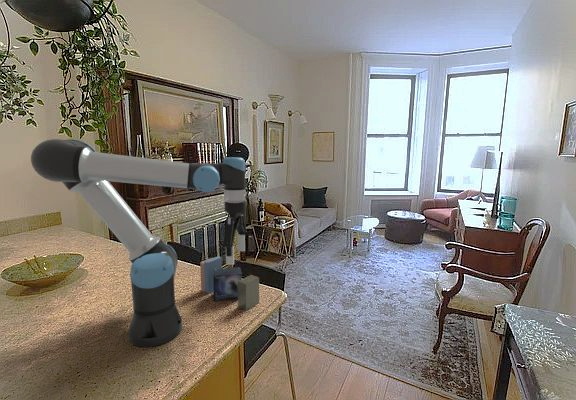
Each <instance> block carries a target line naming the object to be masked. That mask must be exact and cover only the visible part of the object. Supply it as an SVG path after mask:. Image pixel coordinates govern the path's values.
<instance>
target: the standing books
mask: <svg viewBox="0 0 576 400" xmlns="http://www.w3.org/2000/svg"><path fill="white" fill-rule="evenodd" d="M222 260H223V259H222V257H221V256H216V257H211V258H208V259H206V260H203V261H201V262H199V264H200V265H199V266H200V269H199V270H200V291H201V292H203V293H205V294H208V295H210V294H212V293H213V292H214V288H213V269H222V268H223V262H222Z"/></svg>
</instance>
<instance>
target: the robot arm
mask: <svg viewBox="0 0 576 400" xmlns="http://www.w3.org/2000/svg"><path fill="white" fill-rule="evenodd" d="M30 161H31V167H32V168H33V169H34V171H35V172H36V173H37V174H38V175H39V176H40V177H41V178H43V179H45V180H48V181H51V182H55V183H56V182H57V183H59V182H61V183H62V184H63V185H64V186H65V187H66V188H67V189H68V191H69V192H74V193H78V194H79V195H80V196H81V197H82V198H83V200H84V201H85V202H86V203H87V204H88V206H89V207H90V208H91V209H92V211H94V212H95V213H96V215H97V216H98V217H99V218H100V219H101V221H103V223H104V224H105V225H106V226H107V228H108V229H109V230H110V231H111V232H112V233H113V235H114V236H115V237H116V238H117V240H119V242H120V243H121V244H122V245H123V246H124V248H125V249H126V250H127V251H128V252H129V256H128V260H129V262H131V265H130V273H129V278H130V285H131V295H132V308H133V314H132V318H131V321H130V325H129V327H128V339H129V342H130V343H131V344H132V345H134V346H136V347H141V348H150V347H152V348H153V347H156V346H161V345H164V344H165V343H168V342H170V341H172V340H174V339H175V338H176V337H177V336H178V335H179V334H180V333H181V332H182V329H183V321H182V317H181V314H180V312H179V310H178V308H177V305H176V298H175V297H176V295H175V292H176V291H175V277H176V273H177V272H176V271H177V267H178V255H177V253H176V251H175V249H174V248H173V246H171V245H170V244H167V243H165V242H164V241H163V239H162V237H160V236H154V235H153V234H152V233H151V232H150V231H149V230H148V228H147V227H146V226H145V224H144V223H143V222H142V221H141V219H139V217H138V216H137V215H136V213H135V212H134V211H133V209H132V208H131V207H130V206H129V205H128V203H127V202H126V201H125V200H124V199H123V197H122V196H121V195H120V194H119V193H118V191H117V190H116V188H115V187H114V186H113V184H111V182H112V183H114V182H115V183H123V184H124V183H126V184H136V185H144V186H145V185H146V186H147V185H149V186H158V187H168V188H180V189H189V190H198V191H200V192H204V193H209V192H213V191H214V190H216V189H217V188H218V186H223V199H224V212H225V213H228V214H229V217H225V227H224V234H223V235H224V236H223V243H222V247H223V248H225V265H232V266H234V265H235V246H234V242H235V238H236V237H235V235H236V232H237V233H238V234H237V252H246V240H245V239H246V235H247V234H248V231H247V225H246V220H245V219H246V218H245V212H246V210H247V206H246V204H247V203H246V202H247V201H245V200H246V195H248V192H247V191H246V162H245V159H244V158H243V157H233V156H231V157H230V156H229V157H223V160H222V162H220V163H215V162H214V163H213V162H212V163H209V162H206V163H205V162H204V163H203V162H201V163H200V162H196V163H195V162H194V163H193V162H192V163H190V162H189V163H188V162H182V161H181V162H179V161H173V160H172V161H171V160H163V159H155V158H148V157H147V158H146V157H139V156H130V155H122V154H114V153H105V152H99V151H96V148H94V147H93V146H92V145H90V144H88V143H86V142H84V141H82V140H78V139H71V138H70V139H60V138H59V139H58V138H57V139H56V138H54V139H53V138H51V139H47V140H44V141H41V142H40V143H39V144H37V145H36V146H35V147H34V149H33V150H32V152H31V155H30Z"/></svg>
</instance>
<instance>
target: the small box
mask: <svg viewBox="0 0 576 400" xmlns="http://www.w3.org/2000/svg"><path fill="white" fill-rule="evenodd" d="M241 269H242V268H241V267H240V266H237V267H235V266H234V267H226V268H224V267H222V269H213V288H214V292H212V293H213V301H214V302H217V301H227V300H238V281H239V280H241V279H243V278H242V277H243V273H242V270H241Z"/></svg>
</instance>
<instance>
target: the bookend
mask: <svg viewBox="0 0 576 400" xmlns="http://www.w3.org/2000/svg"><path fill="white" fill-rule="evenodd" d="M259 303H260V277H258V276H256V275H253V274H250V275H248V276H246V277H244V278H242V279H241V280H239V281H238V299H237V308H239V309H241V310H244V311H245V312H246V311H249V310H250V309H251V308H252V307H255V306H256V305H258V304H259Z"/></svg>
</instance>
